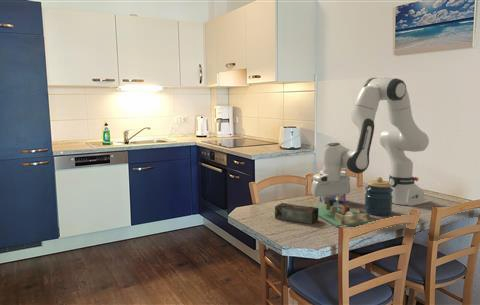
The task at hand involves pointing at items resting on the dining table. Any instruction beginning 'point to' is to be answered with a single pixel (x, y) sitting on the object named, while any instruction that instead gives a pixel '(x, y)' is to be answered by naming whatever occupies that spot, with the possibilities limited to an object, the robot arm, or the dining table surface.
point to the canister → (378, 197)
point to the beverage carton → (296, 213)
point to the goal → (352, 218)
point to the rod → (338, 205)
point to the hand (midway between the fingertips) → (330, 203)
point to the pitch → (329, 215)
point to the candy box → (342, 198)
